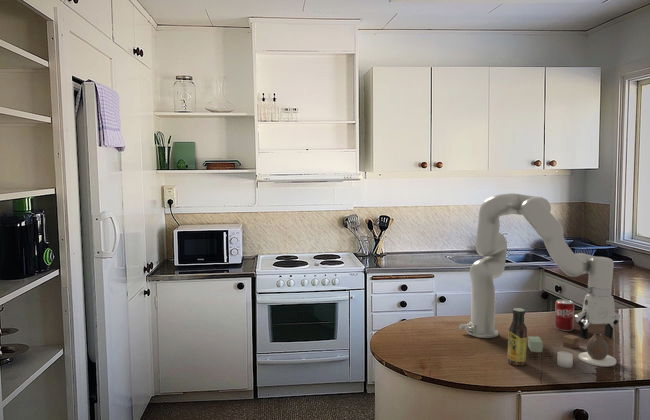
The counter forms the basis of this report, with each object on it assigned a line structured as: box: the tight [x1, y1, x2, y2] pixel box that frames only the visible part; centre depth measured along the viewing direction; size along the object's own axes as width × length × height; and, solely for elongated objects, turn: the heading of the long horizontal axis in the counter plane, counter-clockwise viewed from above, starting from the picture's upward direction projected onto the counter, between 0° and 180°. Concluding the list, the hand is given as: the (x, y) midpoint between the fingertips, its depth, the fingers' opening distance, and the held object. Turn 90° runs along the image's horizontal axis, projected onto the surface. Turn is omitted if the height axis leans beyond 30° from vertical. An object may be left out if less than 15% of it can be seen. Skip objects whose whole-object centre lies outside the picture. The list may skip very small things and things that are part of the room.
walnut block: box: [562, 334, 580, 350], centre depth 197 cm, size 4×4×4 cm
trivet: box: [578, 351, 617, 368], centre depth 184 cm, size 12×12×1 cm
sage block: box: [527, 335, 544, 353], centre depth 195 cm, size 4×6×4 cm, turn 169°
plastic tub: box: [556, 350, 574, 369], centre depth 180 cm, size 5×5×4 cm
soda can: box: [554, 299, 575, 332], centre depth 218 cm, size 7×7×12 cm
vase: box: [586, 332, 609, 360], centre depth 183 cm, size 7×7×9 cm
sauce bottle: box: [506, 307, 528, 366], centre depth 181 cm, size 6×6×20 cm
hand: (595, 337), depth 183 cm, fingers open, 9 cm apart
